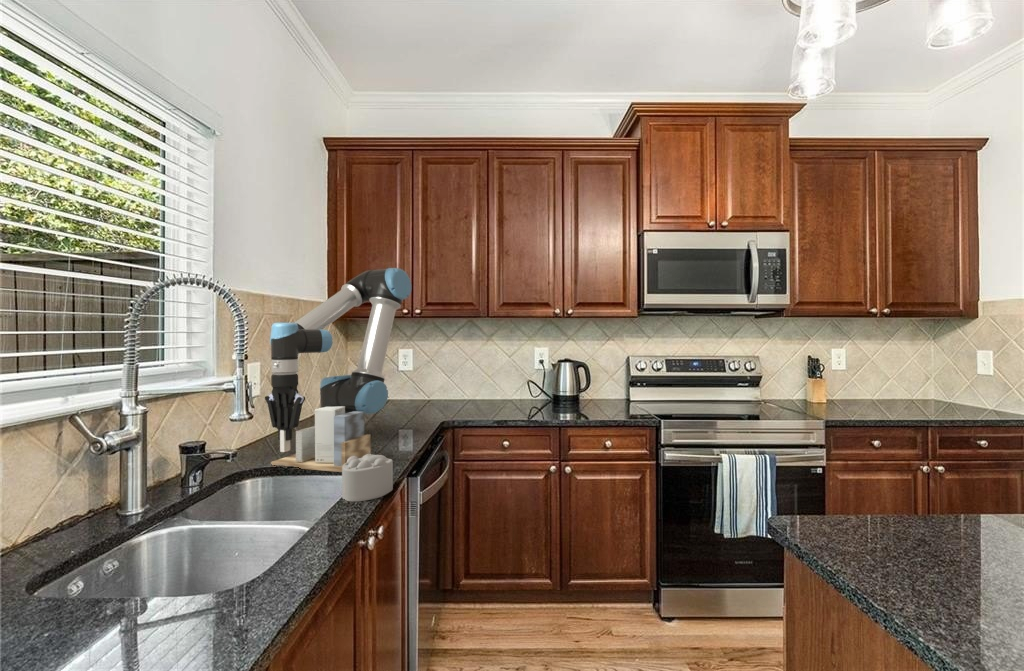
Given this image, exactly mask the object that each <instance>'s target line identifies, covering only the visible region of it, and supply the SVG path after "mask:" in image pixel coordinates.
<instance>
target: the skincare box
mask: <svg viewBox="0 0 1024 671" xmlns="http://www.w3.org/2000/svg"><path fill="white" fill-rule="evenodd" d="M341 414H345V406H338V407H323V408H321V407H319V408H315V409H314V426H315V463H334V416H337V415H341Z"/></svg>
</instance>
